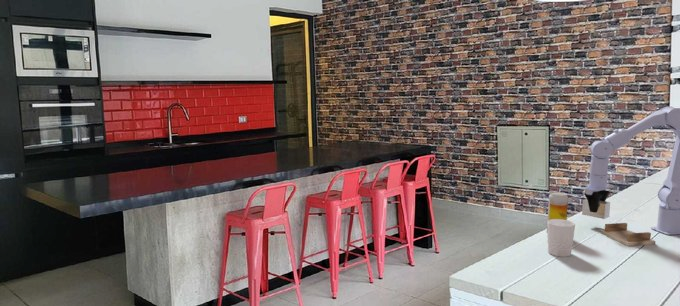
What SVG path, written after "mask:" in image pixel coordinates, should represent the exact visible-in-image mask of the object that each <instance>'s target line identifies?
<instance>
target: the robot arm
mask: <svg viewBox="0 0 680 306" xmlns="http://www.w3.org/2000/svg"><path fill="white" fill-rule="evenodd" d="M666 126H667V127H669V128H670V129H671V131H673V132H674V133H675V135H676V136H675V141H674V145H673V150H672V153H671V158H670V164H669V167H668V171H667V177H666V179H665V180H664V181H663V183H662V186H661V187H660V189H658V191H657V198H658V199H659V201H660V202H659V204H658V213H657V214H658V215H657V223H656V226H651V227H650V229H652V230H654V231H657V232H659V233H661V234H665V235H668V236H672V235H680V107H674V106H670V105H669V106H665V107H662V108H661V109H658V110H656V111H653V112H652V113H650V114H649V115H648V116H646V117H645V118H643V119H641V120H639V121H638V122H636V123H634V124H633V125H631V126H630V127H628V128H626V129H624V128H619V129H617V128H616V129H613V132H612V133H610V134H608V135H606V136H603V137H600V140H595V141H593V142H592V144H591V145H590V147H589V151H590V152H589V153H591V157H590V168H589V180H588V181H589V182H588V183H586V184H585V187H586V188H585V191H584V196H585V197H586V198H585V199H587V200H588V204H589V209H590V212H594V213H596V212H597V209H598V204H599V201H600V200H601V201H606V200H607V199H608V197H609V195H610V194H611V191H610V190H609V189H610V183H608V172H609V171H608V170H609V157H610V156H611V154H612V153H613V152H615V151H617V150H619V149H621V148H622V147H624V146H626V145H628V144H630V142H631V141H632V138H633V137H635V136H637V135H639V134H641V133H644V132H646V131H647V130H649V129H652V128H653V127H666Z"/></svg>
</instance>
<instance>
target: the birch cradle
mask: <svg viewBox="0 0 680 306" xmlns="http://www.w3.org/2000/svg"><path fill="white" fill-rule="evenodd" d="M599 233H600V234H601V235H604V236H605V237H608V238H610V239H612V240H615V241H617V242H619V243H621V244H624V245H626V246H628V247H630V246H631V247H632V246H645V245H647V246H648V245H655V244H656V241H655V240H654V239H651V235H652V233H651V232H649V231H647V232H644V231H643V232H634V231H632V230H629V229H628V223H627V222H618V223H617V222H615V223H605V224H604V229H601V230H599Z"/></svg>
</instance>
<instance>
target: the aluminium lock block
mask: <svg viewBox="0 0 680 306" xmlns="http://www.w3.org/2000/svg"><path fill="white" fill-rule="evenodd" d="M610 208H611V202H610V201H606V200H605V201H601V200H600V201H599V204H598V209H597V212H596V213H594V212H590V209H589V204H588V200H587V198H585V199H582V208H581V209H582V210H581V215H583V216H587V217H591V218H592V217H593V218H598V219H602V220H605V219H607V218H610V211H611V210H610Z"/></svg>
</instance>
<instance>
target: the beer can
mask: <svg viewBox="0 0 680 306" xmlns="http://www.w3.org/2000/svg"><path fill="white" fill-rule="evenodd" d="M568 203H569V197H568V194H567V193H565V192H562V191H560V192H559V191H554V192H553V191H552V192H549V195H548V207H547V223H546V224H547V225H546V233H547V235H548V220H551V219H563V220H568Z"/></svg>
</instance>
